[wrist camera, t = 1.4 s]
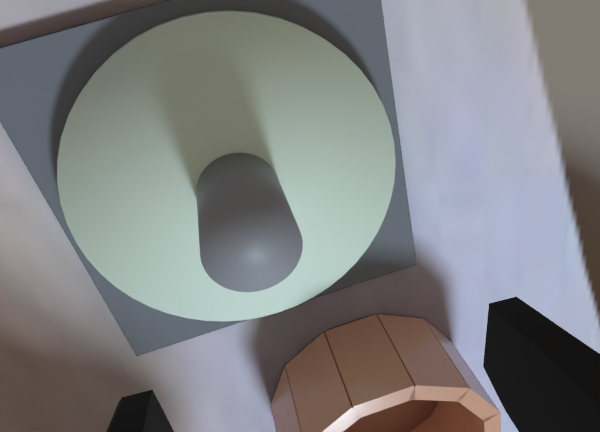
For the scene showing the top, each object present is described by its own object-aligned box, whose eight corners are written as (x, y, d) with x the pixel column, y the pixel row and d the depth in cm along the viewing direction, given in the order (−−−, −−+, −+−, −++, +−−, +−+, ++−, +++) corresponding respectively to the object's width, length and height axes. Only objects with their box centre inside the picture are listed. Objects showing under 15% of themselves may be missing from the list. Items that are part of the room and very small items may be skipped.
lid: (143, 344, 21) (134, 440, 17) (-11, 70, 15) (-85, 118, 11) (404, 258, 22) (456, 330, 18) (360, -35, 16) (425, -29, 12)
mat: (137, 349, 21) (136, 356, 21) (-32, 56, 15) (-37, 58, 15) (412, 259, 22) (416, 264, 22) (368, -57, 16) (373, -56, 15)
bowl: (298, 473, 28) (317, 556, 24) (250, 355, 23) (264, 437, 19) (459, 417, 29) (502, 489, 25) (447, 289, 24) (498, 356, 20)
